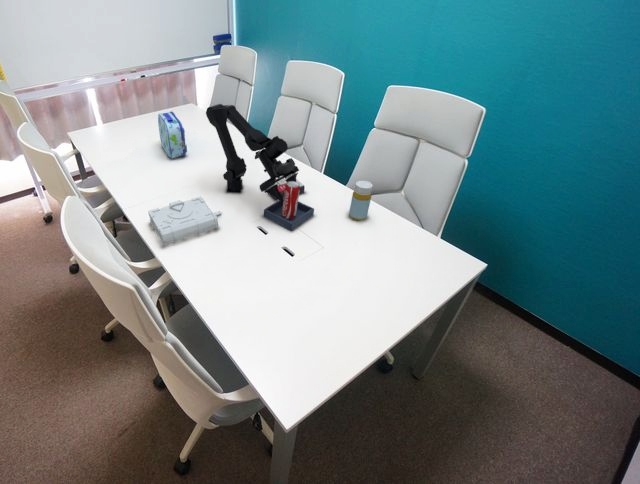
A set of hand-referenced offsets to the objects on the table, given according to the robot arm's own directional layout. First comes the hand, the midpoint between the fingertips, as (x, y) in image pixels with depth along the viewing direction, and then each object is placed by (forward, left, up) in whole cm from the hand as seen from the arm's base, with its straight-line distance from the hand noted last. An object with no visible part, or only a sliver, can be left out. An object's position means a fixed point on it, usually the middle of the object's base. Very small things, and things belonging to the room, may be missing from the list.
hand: (290, 196), depth 137 cm
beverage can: (0, 0, -9) cm, 9 cm away
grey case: (-40, -9, -10) cm, 42 cm away
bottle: (+28, +2, -10) cm, 29 cm away
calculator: (-2, +20, -10) cm, 22 cm away
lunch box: (-65, +60, -10) cm, 89 cm away
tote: (0, 0, -9) cm, 9 cm away
